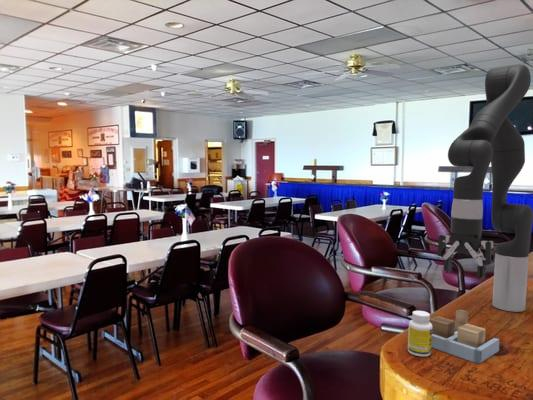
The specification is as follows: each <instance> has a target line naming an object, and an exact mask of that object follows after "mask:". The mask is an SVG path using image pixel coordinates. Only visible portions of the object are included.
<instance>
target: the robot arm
mask: <svg viewBox="0 0 533 400" xmlns="http://www.w3.org/2000/svg"><path fill="white" fill-rule="evenodd" d="M531 79H532V77H531V71H530V70H529V67H528V66H526V65H525V64H514V65H507V66H501V67H500V66H499V67H494V68H491V69H489V70H488V71H486V74H485V80H484V91H485V99H486V100H485V101H486V105H485V106H483V107H482V108H481V109H480V110H479V111H478V112H477V113H476V115H475V116H474V118H473V119H472V121H471V123H470V125H469V126H468V128H466V129H465V130H464V131H463V132H462V133H461V134H459V135H458V136H457V137H456V138H455V139H454V140H452V143H451V144H450V146H449V147H448V152H447V159H448V162H449V163H450V164H451V165H452V166H453V167H458V168H472V170H471V172H470V173H469V174H467V175H461V176H458V177H456V178H455V179H454V182H453V196H452V197H453V198H452V205H451V212H450V215H451V217H450V220H451V221H450V235H448V234H446V233H444V234H440V235H438V241H437V242H438V243H437V252H436V254H437V255H436V256H438V257H441V258H442V259H443V270H444V271H445V274H452V272H453V259H452V258H453V257H454V256H455V255H456V254H464V255H466V256H471V257H472V258H473V259H474V260H475V261H476V263H477V269H476V270H477V271H476V280H478V281H482V280H483V279H484V278H486V273H487V266H489V265H493V264H494V271H493V285H492V286H493V289H492V290H493V291H492V306H493V308H496V309H499V310H502V311H506V312H515V313H517V312H519V313H520V312H524V311H526V305H527V304H526V302H527V290H528V289H527V287H528V270H529V268H528V267H529V256H530V254H529V253H530V248H531V239H532V230H533V209H532V207H531V206H530V205H528V204H519V203H508V201H507V197H508V191H509V189H510V187H511V186H512V183H514V181H515V179H516V178H517V177H518V175H520V173H521V172H522V169H523V168H524V166H525V162H526V153H525V152H526V151H525V150H526V149H525V140H524V137H523V136H522V134H521V133H520V132H519V130H518V128H516V126H515V125H514V124H513V123H512V121H511V120H510V118H509V117H508V116H509V115H510V113H512V111H513V110H514V109H515V108H516V107H517V106H518V104H520V102H521V101H522V100H523V98H524V97H525V96H526V95H527V93H528V91H529V89H530V87H531V81H532V80H531ZM490 165H491V167H490ZM489 168H491V169H490V170H491V179H492V180H491V182H492V183H491V186H492V190H491V192H492V193H491V195H492V196H491V225H492V228H493V230H495V231H497V232H501V233H507V234H515V236H514V238H513V239H512V240H509V241H504V242H499V243H497V244H496V246H495V241H494V240H483V239H482V235H483V234H482V232H483V217H484V206H483V195H484V184H485V183H484V182H485V180H486V177H487V176H486V175H487V173H488V169H489ZM449 242H450V244H451V246H450V247H449V249H447V245H448V243H449ZM482 246H483V249H484V250H485V253H483V251H481V249H480V248H481V247H482ZM484 254H485V256H484Z"/></svg>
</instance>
